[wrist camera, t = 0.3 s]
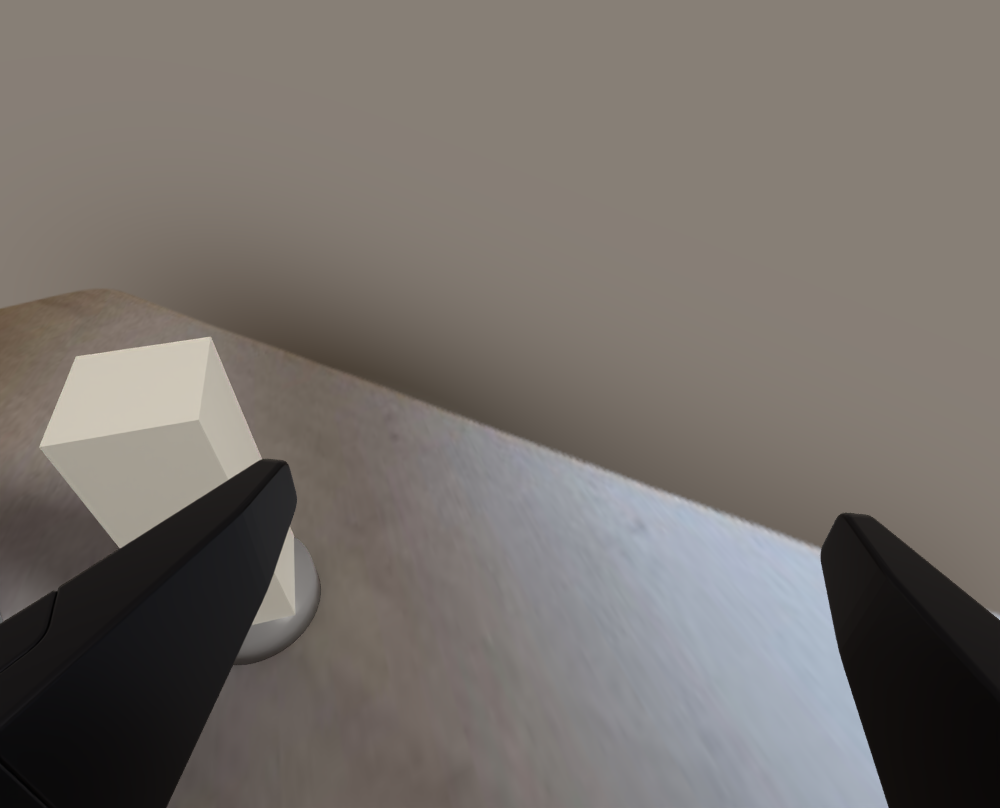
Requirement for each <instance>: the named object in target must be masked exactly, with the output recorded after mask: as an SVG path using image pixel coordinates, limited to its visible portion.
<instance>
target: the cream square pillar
mask: <svg viewBox="0 0 1000 808" xmlns="http://www.w3.org/2000/svg"><path fill="white" fill-rule="evenodd" d="M39 448H40V449H41V450H42V451H43V453H44V454H45V455H46V456H47V458H48V459H49V460H50V461H51V463H52V464H53V465H54V466H55V468H56V469H57V470H58V471H59V473H60V474H61V475H62V476H63V478H64V479H65V480H66V481H67V483H68V484H69V485H70V487H71V488H72V489H73V490H74V492H75V493H76V494H77V495H78V497H79V498H80V499H81V500H82V502H83V503H84V504H85V505H86V507H87V508H88V509H89V510H90V512H91V513H92V514H93V515H94V517H95V518H96V519H97V520H98V522H99V523H100V524H101V525H102V527H103V528H104V529H105V530H106V532H107V533H108V534H109V535H110V537H111V538H112V539H113V541H114V542H115V543H116V544H117V546H118V547H119V548H121V547H123V546H125V545H126V544H128V543H129V542H131V541H133V540H134V539H136V538H137V537H139V536H140V535H142V534H144V533H145V532H147V531H148V530H150V529H151V528H153V527H155V526H156V525H158V524H159V523H161V522H162V521H164V520H166V519H167V518H169V517H170V516H172V515H174V514H175V513H177V512H178V511H180V510H181V509H183V508H185V507H186V506H188V505H189V504H191V503H192V502H194V501H196V500H197V499H199V498H200V497H202V496H204V495H205V494H207V493H208V492H210V491H211V490H213V489H215V488H216V487H218V486H219V485H221V484H222V483H224V482H226V481H227V480H229V479H230V478H232V477H233V476H235V475H237V474H238V473H240V472H241V471H243V470H245V469H246V468H248V467H249V466H251V465H252V464H254V463H256V462H257V461H259V460H261V459H262V458H261V456H260V453H259V451H258V449H257V446H256V444H255V442H254V439H253V437H252V434H251V432H250V430H249V427H248V425H247V422H246V420H245V418H244V415H243V413H242V410H241V408H240V406H239V403H238V401H237V399H236V396H235V394H234V391H233V389H232V387H231V384H230V382H229V379H228V377H227V375H226V372H225V370H224V367H223V365H222V363H221V360H220V358H219V355H218V353H217V351H216V348H215V346H214V344H213V341H212V339H211V337H206V338H199V339H192V340H185V341H178V342H172V343H165V344H158V345H151V346H144V347H138V348H131V349H124V350H117V351H111V352H104V353H97V354H90V355H83V356H77V357H76V358H75V361H74V363H73V365H72V368H71V370H70V373H69V375H68V378H67V380H66V383H65V385H64V388H63V390H62V392H61V395H60V397H59V400H58V402H57V405H56V407H55V410H54V412H53V415H52V417H51V420H50V422H49V424H48V427H47V429H46V432H45V434H44V437H43V439H42V442H41V444H40V447H39ZM320 595H321V585H320V579H319V576H318V573H317V570H316V568H315V565H314V563H313V561H312V558H311V556H310V553H309V551H308V550H307V548H306V547H305V545H304V544H303V543H302V542H301V541H300V540H298V539H297V538H296V537H294V535H293V532H292V530H291V528H290V527H289V530H288V533H287V536H286V539H285V542H284V545H283V548H282V551H281V554H280V556H279V559H278V562H277V565H276V568H275V571H274V574H273V577H272V580H271V582H270V585H269V588H268V590H267V593H266V595H265V597H264V599H263V602H262V604H261V606H260V608H259V610H258V612H257V615H256V617H255V619H254V621H253V623H252V625H251V627H250V630H249V632H248V634H247V636H246V638H245V640H244V642H243V645H242V647H241V649H240V651H239V653H238V655H237V657H236V660H235V662H234V664H233V665H245V664H251V663H256V662H259V661H262V660H265V659H267V658H270V657H272V656H274V655H276V654H278V653H279V652H281V651H283V650H284V649H286V648H287V647H288V646H290V645H291V644H292V643H293V642H294V641H296V640H297V639H298V638H299V637H300V635H301V634H302V633H303V632H304V631H305V630H306V628H307V627H308V626H309V624H310V623H311V621H312V619H313V618H314V615H315V613H316V611H317V608H318V605H319V601H320Z"/></svg>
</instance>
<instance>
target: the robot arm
mask: <svg viewBox="0 0 1000 808" xmlns="http://www.w3.org/2000/svg"><path fill="white" fill-rule="evenodd" d="M296 504H297V495H296V491H295V487H294V483H293V479H292V475H291V471H290V468H289V465H288V464H287V462H286V461H283V460H275V459H261V460H259V461H257V462H256V463H254V464H252V465H251V466H249V467H248V468H246V469H245V470H243V471H241V472H240V473H238V474H237V475H235V476H233V477H232V478H230V479H229V480H227V481H226V482H224V483H222V484H221V485H219V486H218V487H216V488H215V489H213V490H211V491H210V492H208V493H207V494H205V495H204V496H202V497H200V498H199V499H197V500H196V501H194V502H192V503H191V504H189V505H188V506H186V507H185V508H183V509H181V510H180V511H178V512H177V513H175V514H174V515H172V516H170V517H169V518H167V519H166V520H164V521H162V522H161V523H159V524H158V525H156V526H155V527H153V528H151V529H150V530H148V531H147V532H145V533H144V534H142V535H140V536H139V537H137V538H136V539H134V540H133V541H131V542H129V543H128V544H126V545H125V546H123V547H121V548H120V549H118V550H117V551H115V552H114V553H112V554H110V555H109V556H107V557H106V558H104V559H103V560H101V561H99V562H98V563H96V564H95V565H93V566H92V567H90V568H88V569H87V570H85V571H84V572H82V573H80V574H79V575H77V576H76V577H74V578H73V579H71V580H69V581H68V582H66V583H65V584H63V585H61V586H60V587H59V588H58V591H52V592H50V593H49V594H47V595H45V596H44V597H42V598H41V599H39V600H38V601H36V602H34V603H33V604H31V605H30V606H28V607H27V608H25V609H23V610H22V611H20V612H18V613H17V614H15V615H13V616H12V617H10V618H9V619H7V620H5V621H4V622H2V623H0V808H166V807H167V805H168V803H169V801H170V799H171V797H172V794H173V792H174V790H175V788H176V786H177V784H178V782H179V779H180V777H181V775H182V773H183V771H184V769H185V767H186V764H187V762H188V760H189V758H190V756H191V754H192V752H193V749H194V747H195V745H196V743H197V741H198V739H199V737H200V734H201V732H202V730H203V728H204V726H205V724H206V722H207V719H208V717H209V715H210V713H211V711H212V709H213V707H214V704H215V702H216V700H217V698H218V696H219V694H220V692H221V689H222V687H223V685H224V683H225V681H226V679H227V677H228V675H229V672H230V670H231V668H232V666H233V664H234V662H235V660H236V657H237V655H238V653H239V651H240V649H241V647H242V645H243V642H244V640H245V638H246V636H247V634H248V632H249V630H250V627H251V625H252V623H253V621H254V619H255V617H256V615H257V612H258V610H259V608H260V606H261V604H262V602H263V599H264V597H265V595H266V593H267V590H268V588H269V585H270V582H271V580H272V577H273V574H274V571H275V568H276V565H277V562H278V559H279V556H280V554H281V551H282V548H283V545H284V542H285V539H286V536H287V533H288V530H289V527H290V524H291V521H292V518H293V515H294V512H295V509H296ZM821 565H822V570H823V575H824V580H825V585H826V590H827V595H828V600H829V605H830V610H831V615H832V620H833V625H834V630H835V635H836V640H837V644H838V649H839V653H840V656H841V660H842V663H843V666H844V670H845V673H846V676H847V679H848V682H849V685H850V688H851V691H852V695H853V698H854V701H855V704H856V707H857V710H858V713H859V716H860V720H861V723H862V726H863V729H864V732H865V735H866V738H867V741H868V744H869V748H870V751H871V754H872V757H873V760H874V763H875V766H876V769H877V773H878V776H879V779H880V782H881V785H882V788H883V791H884V794H885V798H886V801H887V804H888V807H889V808H1000V620H999V619H998V618H997V617H995V616H994V615H993V614H992V613H990V612H989V611H988V610H987V609H985V608H984V607H983V606H982V605H981V604H979V603H978V602H977V601H976V600H974V599H973V598H972V597H971V596H969V595H968V594H967V593H966V592H964V591H963V590H962V589H961V588H960V587H958V586H957V585H956V584H955V583H953V582H952V581H951V580H950V579H948V578H947V577H946V576H945V575H944V574H942V573H941V572H940V571H939V570H937V569H936V568H935V567H933V566H932V565H931V564H930V563H929V562H928V561H926V560H925V559H924V558H923V557H921V556H920V555H919V554H918V553H916V552H915V551H914V550H913V549H912V548H910V547H909V546H908V545H907V544H905V543H904V542H903V541H902V540H900V539H899V538H898V537H897V536H896V535H894V534H893V533H892V532H891V531H889V530H888V529H887V528H886V527H884V526H883V525H882V524H880V523H879V522H878V521H877V520H876V519H874V518H873V517H871V516H869V515H864V514H854V513H842V514H840V515H839V516H838V517H837V518H836V520H835V522H834V524H833V526H832V528H831V530H830V532H829V534H828V536H827V538H826V540H825V542H824V544H823V546H822V549H821Z"/></svg>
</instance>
